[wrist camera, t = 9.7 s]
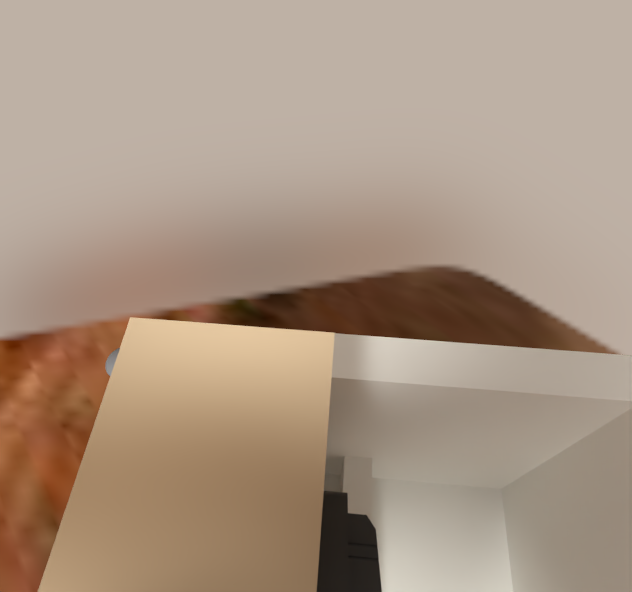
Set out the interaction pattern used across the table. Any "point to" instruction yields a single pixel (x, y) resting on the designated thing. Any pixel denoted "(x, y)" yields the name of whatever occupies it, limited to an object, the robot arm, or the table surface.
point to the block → (202, 465)
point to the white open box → (484, 463)
